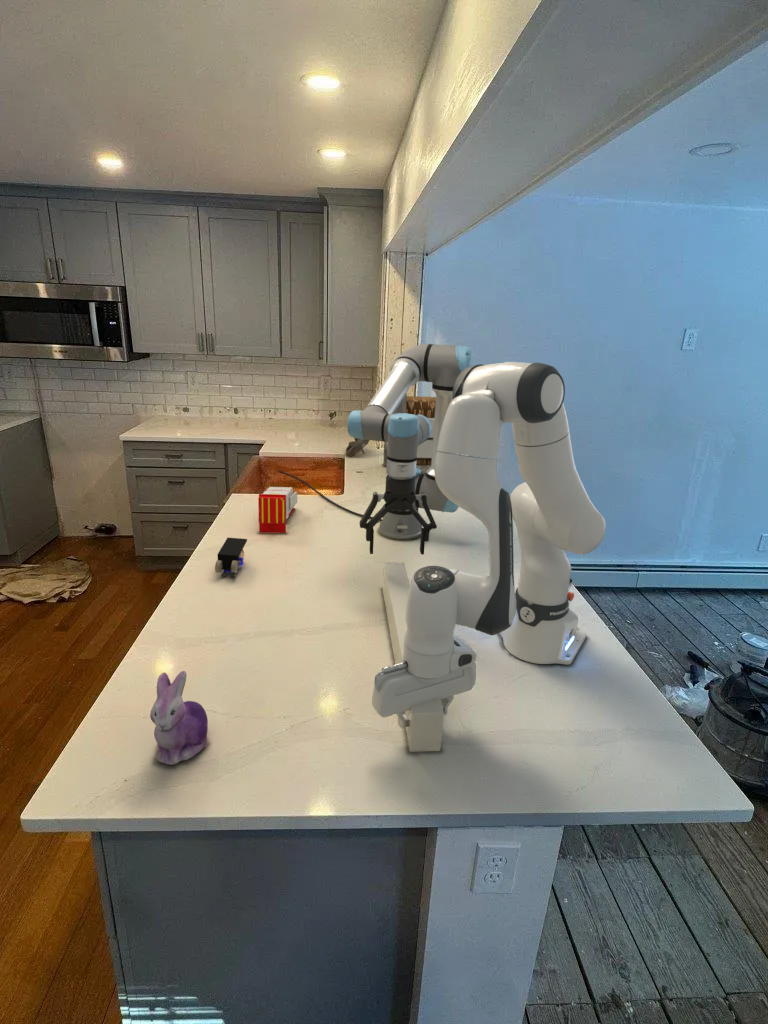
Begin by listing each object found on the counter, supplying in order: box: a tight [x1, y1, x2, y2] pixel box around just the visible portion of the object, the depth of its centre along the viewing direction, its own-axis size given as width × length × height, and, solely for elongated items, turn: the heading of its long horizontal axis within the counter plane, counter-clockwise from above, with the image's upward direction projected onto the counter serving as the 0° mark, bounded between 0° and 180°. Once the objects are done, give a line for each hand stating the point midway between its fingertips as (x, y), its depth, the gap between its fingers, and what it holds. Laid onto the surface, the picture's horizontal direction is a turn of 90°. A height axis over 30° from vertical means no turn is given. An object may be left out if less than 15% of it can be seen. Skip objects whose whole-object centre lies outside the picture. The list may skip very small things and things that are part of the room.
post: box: [382, 561, 445, 753], centre depth 130 cm, size 62×6×8 cm, turn 5°
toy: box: [257, 486, 298, 534], centre depth 206 cm, size 12×13×30 cm
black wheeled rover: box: [214, 537, 248, 578], centre depth 166 cm, size 7×8×15 cm
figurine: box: [149, 670, 209, 766], centre depth 98 cm, size 9×10×15 cm
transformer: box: [383, 392, 462, 467], centre depth 268 cm, size 34×33×41 cm
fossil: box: [345, 438, 370, 458], centre depth 306 cm, size 22×10×15 cm
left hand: (396, 552), depth 151 cm, fingers open, 13 cm apart
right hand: (422, 719), depth 105 cm, fingers closed on post, 7 cm apart
